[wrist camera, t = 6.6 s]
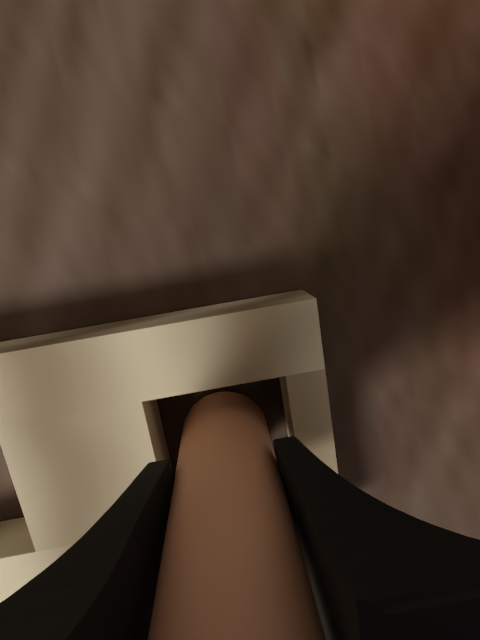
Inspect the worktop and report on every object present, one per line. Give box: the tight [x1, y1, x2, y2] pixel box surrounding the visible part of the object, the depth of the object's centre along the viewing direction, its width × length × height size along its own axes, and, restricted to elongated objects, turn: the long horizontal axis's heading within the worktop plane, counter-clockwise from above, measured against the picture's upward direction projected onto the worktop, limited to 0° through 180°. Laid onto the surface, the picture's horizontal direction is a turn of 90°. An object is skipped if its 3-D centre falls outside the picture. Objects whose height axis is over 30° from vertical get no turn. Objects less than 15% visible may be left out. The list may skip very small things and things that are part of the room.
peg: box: [148, 391, 326, 640], centre depth 10 cm, size 3×3×9 cm
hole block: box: [0, 289, 338, 603], centre depth 14 cm, size 16×9×2 cm, turn 99°
